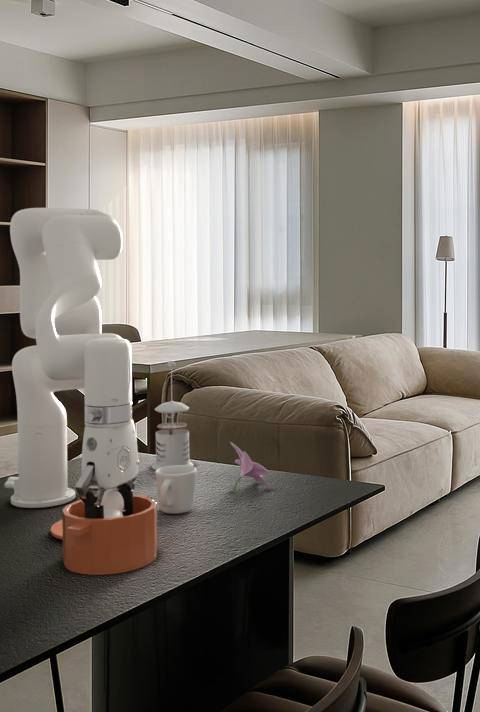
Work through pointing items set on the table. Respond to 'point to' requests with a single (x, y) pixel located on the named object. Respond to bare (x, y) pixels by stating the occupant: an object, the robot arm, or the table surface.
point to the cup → (176, 488)
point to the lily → (250, 467)
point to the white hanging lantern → (172, 436)
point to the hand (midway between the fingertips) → (109, 521)
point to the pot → (109, 539)
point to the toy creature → (113, 504)
